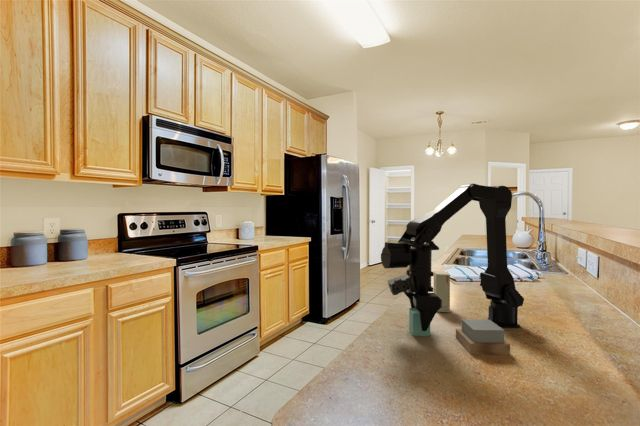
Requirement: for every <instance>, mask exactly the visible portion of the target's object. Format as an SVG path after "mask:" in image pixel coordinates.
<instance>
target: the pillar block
mask: <svg viewBox="0 0 640 426" xmlns="http://www.w3.org/2000/svg"><path fill="white" fill-rule="evenodd" d="M408 310H409V311H408V316H409V319H408V324H409V325H408V327H409V328H408V330H409V332H410V333H411V335H412V336H413V337H430V336H431V324H430V325H429V327H428V329H427V331H422V329H421V323H420V316H419V311H418V310H417V309H416V308H411V307H410V308H409V309H408Z"/></svg>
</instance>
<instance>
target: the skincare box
mask: <svg viewBox="0 0 640 426" xmlns="http://www.w3.org/2000/svg"><path fill="white" fill-rule="evenodd" d="M433 272H434V276H433V293H435V294H436V295H437V296H438V297H439V298H440V299H441V300H442V308H440V309H439V310H438V311H437V313H450V311H451V305H450V304H451V303H450V301H451V296H450V295H451V275H450V273H449V272H448V271H444V270H443V271H441V270H433Z"/></svg>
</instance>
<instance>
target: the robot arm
mask: <svg viewBox="0 0 640 426" xmlns="http://www.w3.org/2000/svg"><path fill="white" fill-rule="evenodd" d="M471 201H473V202H474V201H475V202H478V204H479V209H480V210H481V212H482V214H483V215H484V217H485V227H486V229H485V230H486V252H487V254H486V255H487V267H486V269H485V271H484V272H480V273H479V278H480V284H479V286H480V287H481V288H482V291H483V292H484V294H485V296H486V299H487V300H490V305H488V317H487V320H491V321H492V322H494V323H495V324H496V325H498V326H499V327H501V328H521V327H522V326H521V325H520V324H519V323H518V316H519V315H518V314H519V313H518V311H519V310H518V308H519V307H523V305H524V301H525V298H524V297H523V296H522V294H521V293H520V292H519V291H518V290H517V289H516V284H515V283H516V282H515V279H514V276H513V275H512V273H511V271H510V270H509V268H508V250H507V249H508V248H507V225H506V224H507V221H506V217H507V215H508V213H509V212H510V210H511V208H512V204H513V203H512V201H513V192H512V189H509V187H508V186H506V185H491V186H489V185H482V184H477V183H464V184H462V185H461V186H459V187H458V189H457V190H456V191H454V192H453V193H452V194H451V195H449V196H448V197H447V198H446V199H444V200H443V201H442V202H441V203H440V204H438V205H437V206H436V207H435V208H434V209H432V210H431V211H429V212H426V213H424V214H422V215H419V216H417V217H415V218H414V219H412V220H410V221H409V222H408V223H407V224H406V226H405V227H406V229H405V231H404V233H402V236H401V237H400V238H399V240H398V242H390V241H385V242H384V247H383V248H382V250H381V253H380V261H381V264H382V266H383V268H384V269H403V268H404V269H405V268H406V271H405V273H406V274H404V275H399V276H395V277H393V278H391V279H388V280H387V281H386V282H387V284H388V287H389V290H390V292H391V294H392V296H397V295H399V294H401V293H404V295H405V296H406V297H407V298H408V299H409V304H410V308H416V309H417V310H418V311H419V316H420V323H421V329H422V331H427V329H428V327H429V325H430V326H431V323H432V321H433V319H434V317H435V316H436V314H437V313H438V312H437V311H438V310H439V309H440V308H442V300H441V299H440V298H439V297H438V296H437V295H436V294H435V293H434V286H432V277H434V271H432V256H433V254H432V251H439V250H440V247H439V246H438V245H436V244H435V243H434V241H433V240H434V239H435V238H436V237H437V236H438V235H439V233H440V232H441V230H442V228H443V225H444V224H445V223H446V222H447V221H448V220H450V219H451V218H452V217H453V216H455V215H456V214H457V213H458V212H460V210H462V209H463V208H464V207H465V206H467V205H468V204H469V203H470V202H471Z"/></svg>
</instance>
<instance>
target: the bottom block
mask: <svg viewBox="0 0 640 426" xmlns="http://www.w3.org/2000/svg"><path fill="white" fill-rule="evenodd" d="M455 340H457V342H458V343H460V344H461V346H462V347H463V348H464V350H465V351H467V353H469V355H482V356H483V355H489V356H490V355H491V356H496V355H498V356H510V355H511V344H510V343H509V342H508V341H507V340H506V339H504V343H473V342H472V341H471V340H470V339H469V338H468V337H467V336H466V335H465V334H464V333H463V332H462V328H455Z"/></svg>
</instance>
